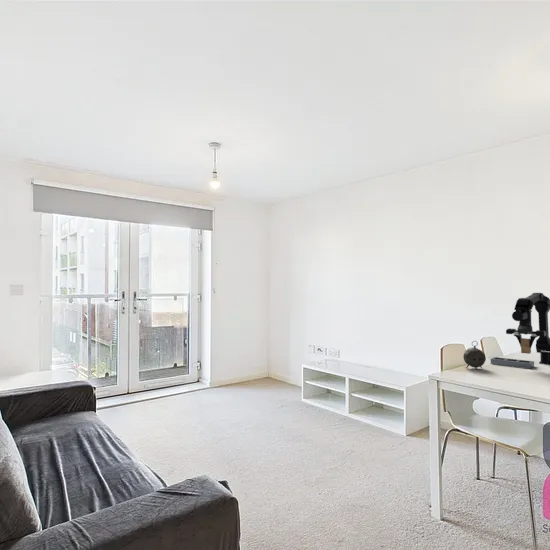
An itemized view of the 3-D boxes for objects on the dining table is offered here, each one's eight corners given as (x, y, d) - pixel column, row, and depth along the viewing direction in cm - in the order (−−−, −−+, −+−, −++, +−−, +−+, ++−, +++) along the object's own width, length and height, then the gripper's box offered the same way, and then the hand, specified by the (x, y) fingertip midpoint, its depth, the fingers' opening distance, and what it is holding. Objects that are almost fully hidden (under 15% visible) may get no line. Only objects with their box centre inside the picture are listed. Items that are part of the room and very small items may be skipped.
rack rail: (490, 363, 238) (490, 359, 238) (494, 361, 245) (494, 356, 245) (530, 368, 224) (530, 363, 224) (534, 366, 230) (534, 361, 230)
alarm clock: (482, 368, 226) (482, 340, 227) (487, 370, 221) (486, 341, 221) (463, 367, 228) (462, 340, 228) (467, 369, 222) (466, 341, 223)
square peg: (522, 352, 225) (522, 338, 225) (530, 352, 222) (530, 338, 222) (521, 352, 222) (520, 338, 222) (529, 353, 219) (529, 339, 220)
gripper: (503, 320, 223) (503, 347, 223) (542, 322, 210) (542, 351, 210) (508, 318, 231) (508, 345, 231) (545, 320, 219) (546, 348, 218)
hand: (525, 347), depth 222 cm, fingers closed on square peg, 4 cm apart
